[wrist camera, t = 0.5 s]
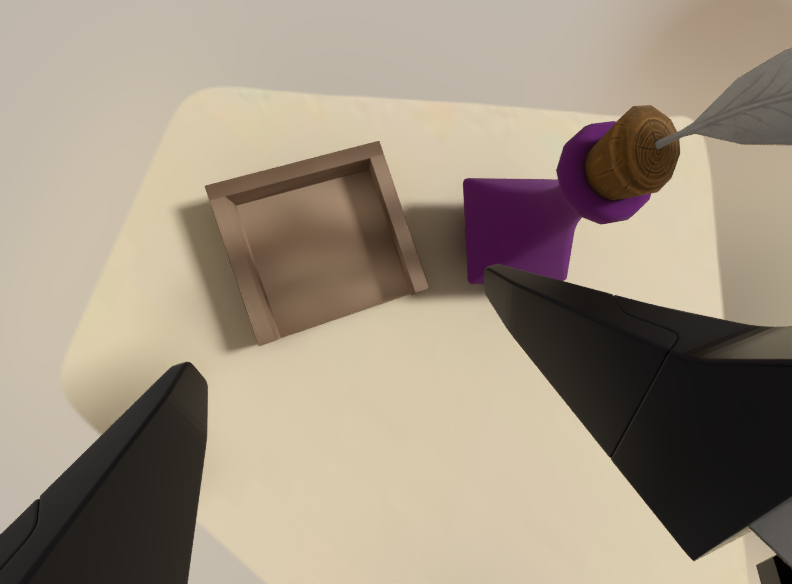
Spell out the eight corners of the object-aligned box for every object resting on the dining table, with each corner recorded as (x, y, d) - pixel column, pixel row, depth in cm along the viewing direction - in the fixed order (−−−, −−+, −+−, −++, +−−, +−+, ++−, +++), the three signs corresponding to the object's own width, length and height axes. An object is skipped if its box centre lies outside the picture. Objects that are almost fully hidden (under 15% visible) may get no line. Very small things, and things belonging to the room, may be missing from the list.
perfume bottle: (453, 286, 25) (719, 238, 7) (448, 194, 25) (692, -87, 7) (539, 283, 26) (968, 234, 8) (534, 195, 26) (936, -48, 8)
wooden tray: (420, 290, 24) (428, 288, 22) (269, 341, 22) (258, 346, 20) (376, 157, 24) (379, 140, 22) (221, 199, 22) (204, 186, 20)
